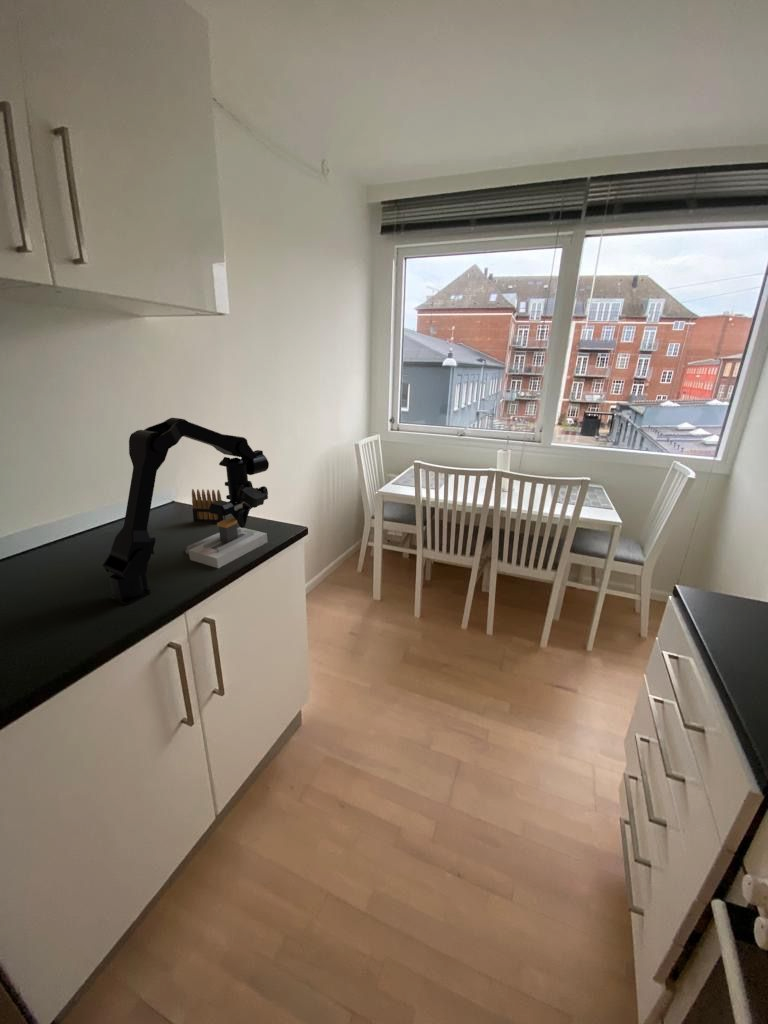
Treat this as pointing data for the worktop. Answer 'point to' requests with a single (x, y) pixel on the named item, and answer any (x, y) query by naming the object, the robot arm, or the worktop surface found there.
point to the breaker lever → (228, 530)
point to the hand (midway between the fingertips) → (242, 527)
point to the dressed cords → (201, 542)
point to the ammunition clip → (205, 507)
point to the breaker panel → (227, 548)
